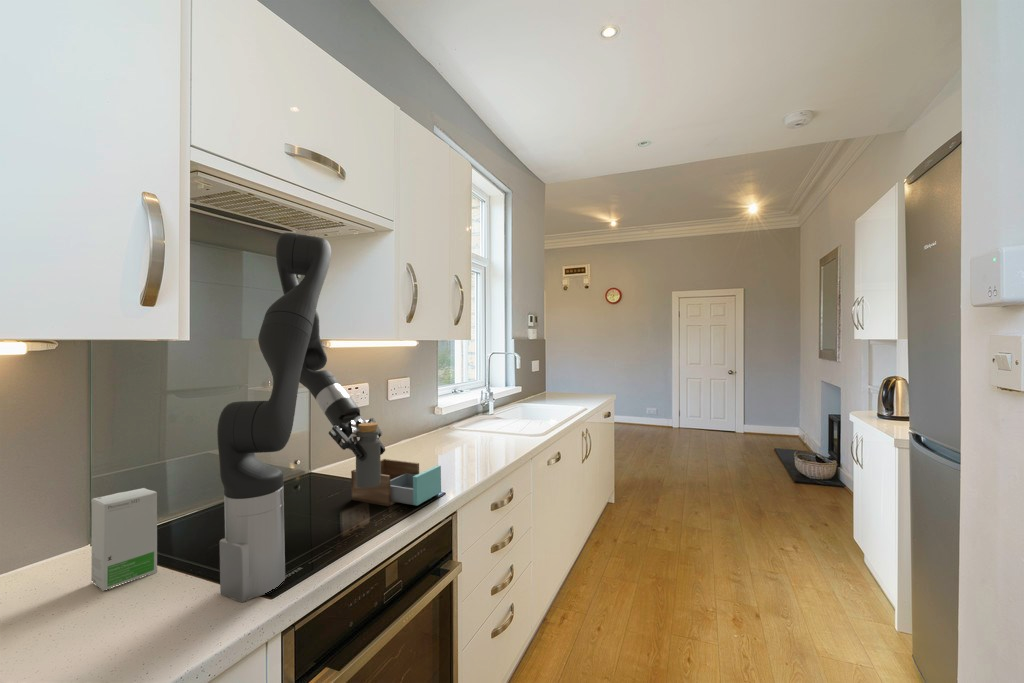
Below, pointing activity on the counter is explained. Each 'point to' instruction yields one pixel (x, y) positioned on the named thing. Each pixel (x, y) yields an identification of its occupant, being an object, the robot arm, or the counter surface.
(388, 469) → the housing
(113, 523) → the skincare box
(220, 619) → the counter surface
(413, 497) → the teal drawer
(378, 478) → the bottle
